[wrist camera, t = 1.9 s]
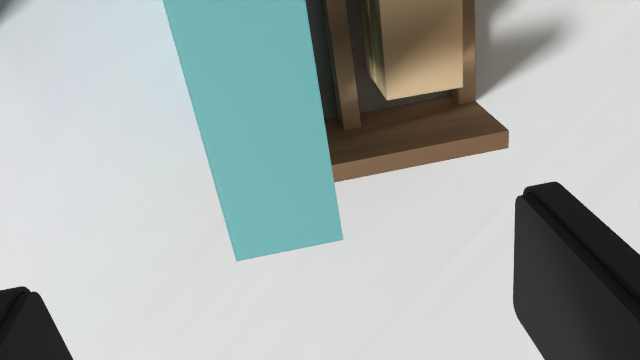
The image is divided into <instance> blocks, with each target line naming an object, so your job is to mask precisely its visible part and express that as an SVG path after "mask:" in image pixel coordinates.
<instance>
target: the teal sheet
mask: <svg viewBox="0 0 640 360" xmlns="http://www.w3.org/2000/svg"><path fill="white" fill-rule="evenodd" d="M163 3H164V7H165V10H166V14H167V17H168V21H169V24H170V28H171V31H172V35H173V38H174V42H175V45H176V49H177V52H178V56H179V60H180V63H181V67H182V70H183V74H184V77H185V81H186V84H187V88H188V91H189V95H190V98H191V102H192V105H193V109H194V113H195V116H196V120H197V123H198V127H199V130H200V134H201V137H202V141H203V144H204V148H205V151H206V155H207V158H208V162H209V166H210V169H211V173H212V176H213V180H214V183H215V187H216V190H217V194H218V197H219V201H220V204H221V208H222V211H223V215H224V218H225V222H226V226H227V229H228V233H229V236H230V240H231V243H232V247H233V250H234V254H235V257H236V261H240V260H245V259H250V258H255V257H260V256H265V255H270V254H275V253H280V252H285V251H290V250H295V249H300V248H304V247H309V246H314V245H319V244H324V243H329V242H334V241H339V240H343V236H342V229H341V223H340V217H339V210H338V204H337V198H336V191H335V185H334V179H333V173H332V166H331V160H330V154H329V147H328V141H327V135H326V128H325V122H324V116H323V110H322V103H321V97H320V91H319V84H318V78H317V72H316V65H315V59H314V53H313V47H312V40H311V34H310V28H309V21H308V15H307V9H306V2H305V0H163Z"/></svg>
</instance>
